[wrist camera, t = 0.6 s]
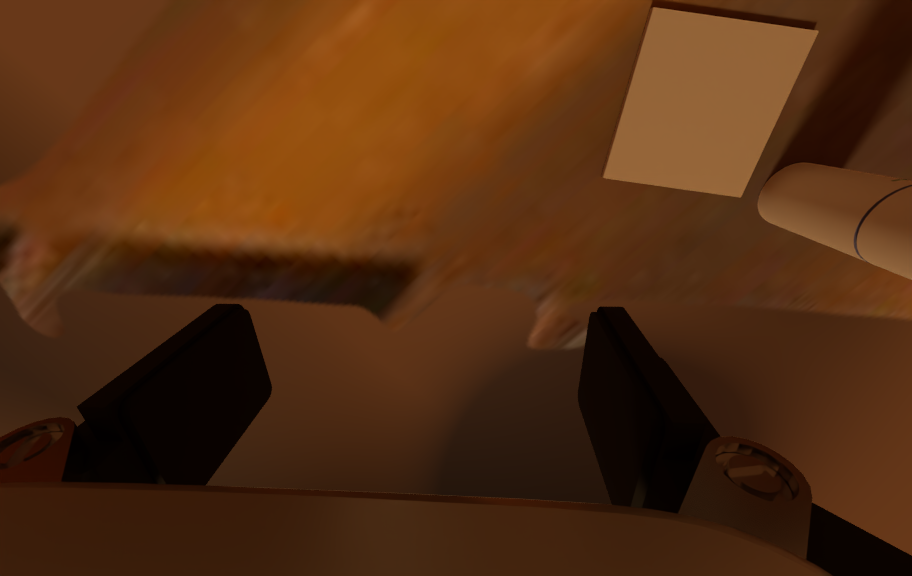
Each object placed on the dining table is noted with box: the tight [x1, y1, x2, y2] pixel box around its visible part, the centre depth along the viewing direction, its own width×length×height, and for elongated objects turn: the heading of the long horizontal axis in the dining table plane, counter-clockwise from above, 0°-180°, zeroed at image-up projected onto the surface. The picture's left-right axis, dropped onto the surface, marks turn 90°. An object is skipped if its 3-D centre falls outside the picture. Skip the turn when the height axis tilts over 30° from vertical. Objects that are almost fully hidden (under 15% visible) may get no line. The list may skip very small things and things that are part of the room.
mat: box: [601, 7, 819, 197], centre depth 39 cm, size 16×16×1 cm
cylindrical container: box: [758, 162, 912, 280], centre depth 32 cm, size 7×7×25 cm
